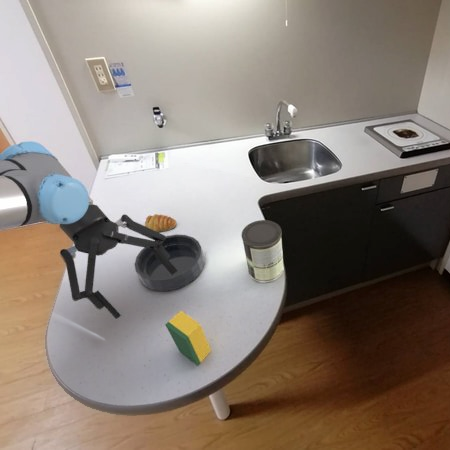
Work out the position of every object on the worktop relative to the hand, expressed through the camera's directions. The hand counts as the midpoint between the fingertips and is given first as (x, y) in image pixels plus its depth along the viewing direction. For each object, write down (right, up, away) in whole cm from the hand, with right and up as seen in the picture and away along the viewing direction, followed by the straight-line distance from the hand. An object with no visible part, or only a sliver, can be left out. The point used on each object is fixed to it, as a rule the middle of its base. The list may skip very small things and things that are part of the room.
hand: (148, 293), depth 64 cm
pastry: (-15, +14, +39) cm, 44 cm away
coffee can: (+22, +2, +23) cm, 32 cm away
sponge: (+8, -14, +5) cm, 17 cm away
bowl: (-5, +2, +24) cm, 25 cm away
